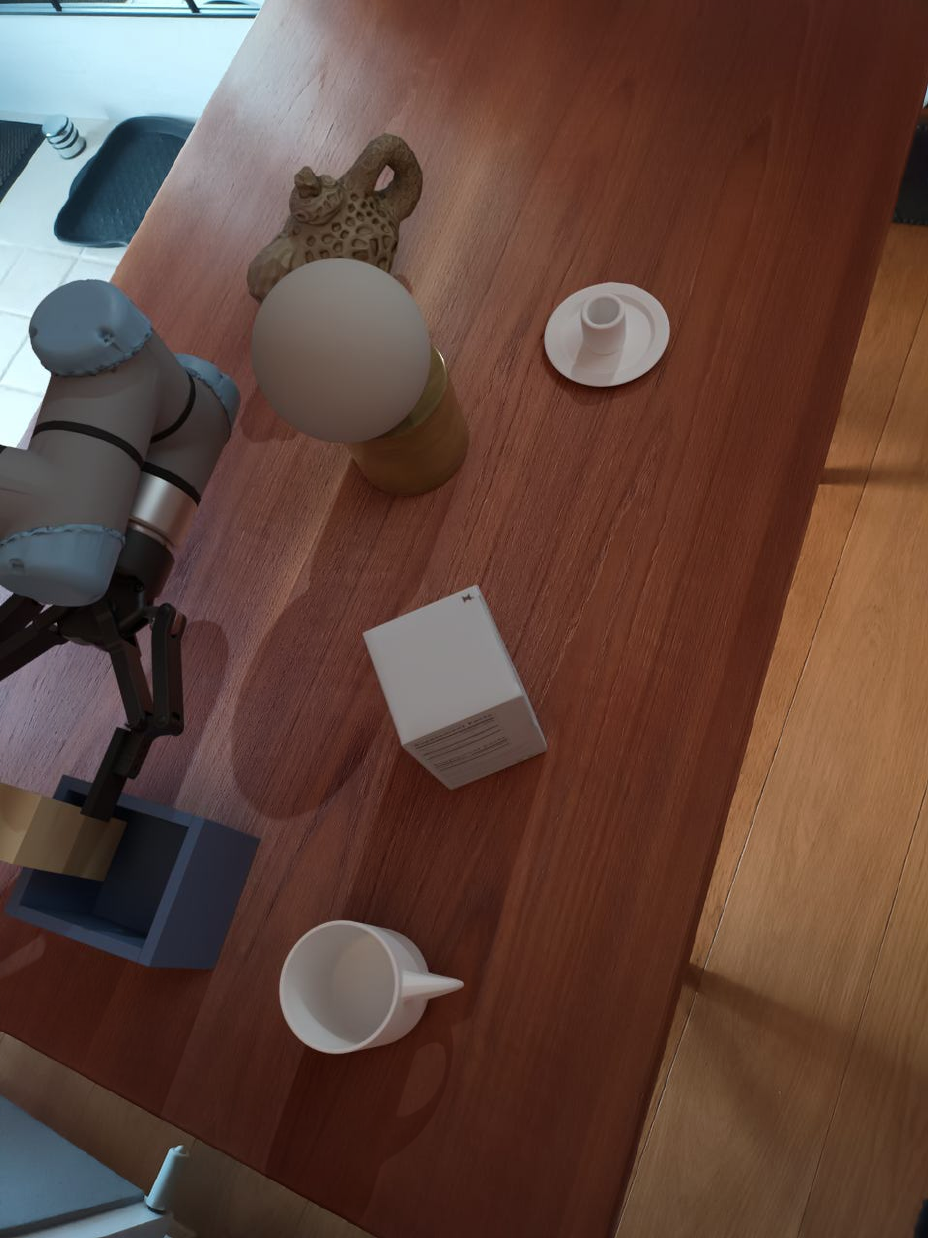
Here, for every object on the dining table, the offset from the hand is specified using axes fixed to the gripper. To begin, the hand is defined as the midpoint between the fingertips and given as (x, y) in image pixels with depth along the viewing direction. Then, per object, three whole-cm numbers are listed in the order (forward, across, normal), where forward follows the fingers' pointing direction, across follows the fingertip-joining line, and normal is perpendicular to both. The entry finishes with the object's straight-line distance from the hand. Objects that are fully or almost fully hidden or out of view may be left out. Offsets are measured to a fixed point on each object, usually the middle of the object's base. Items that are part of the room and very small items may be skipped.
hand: (17, 793), depth 70 cm
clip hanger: (+2, 0, -11) cm, 11 cm away
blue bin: (+3, -6, -16) cm, 17 cm away
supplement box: (-17, -28, -16) cm, 36 cm away
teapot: (-60, -1, -16) cm, 62 cm away
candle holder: (-57, -29, -16) cm, 66 cm away
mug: (+5, -28, -16) cm, 33 cm away
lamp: (-40, -13, -16) cm, 45 cm away
